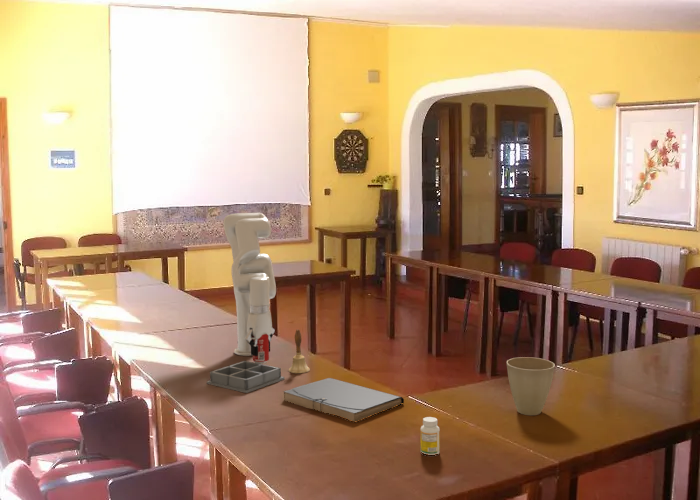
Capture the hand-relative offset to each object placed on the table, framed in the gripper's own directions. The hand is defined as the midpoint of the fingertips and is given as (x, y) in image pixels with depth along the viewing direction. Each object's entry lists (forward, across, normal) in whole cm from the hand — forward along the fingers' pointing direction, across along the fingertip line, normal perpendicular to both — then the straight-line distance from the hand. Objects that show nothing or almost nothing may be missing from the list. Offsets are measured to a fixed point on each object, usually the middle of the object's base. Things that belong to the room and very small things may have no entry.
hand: (260, 352), depth 301 cm
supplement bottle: (+2, +38, +99) cm, 106 cm away
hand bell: (+5, -4, +16) cm, 17 cm away
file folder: (+4, +17, +53) cm, 56 cm away
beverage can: (+4, 0, 0) cm, 4 cm away
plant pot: (+2, -9, +108) cm, 108 cm away
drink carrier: (+5, +18, +9) cm, 20 cm away
